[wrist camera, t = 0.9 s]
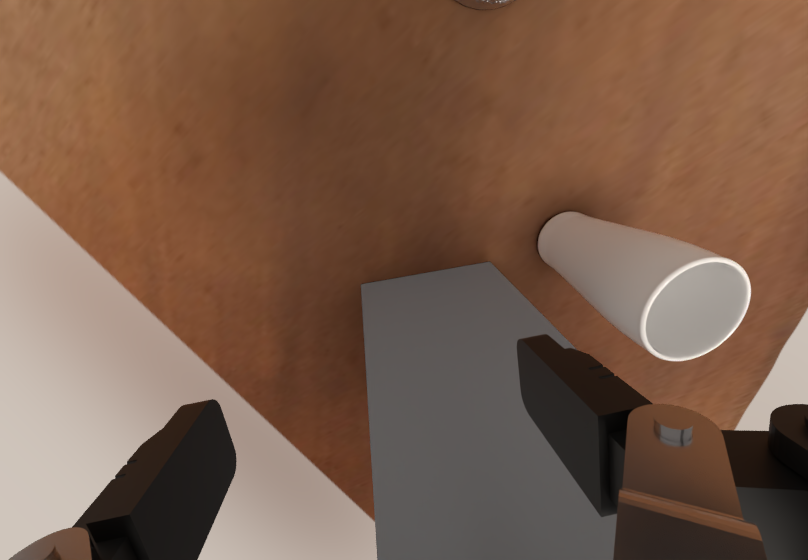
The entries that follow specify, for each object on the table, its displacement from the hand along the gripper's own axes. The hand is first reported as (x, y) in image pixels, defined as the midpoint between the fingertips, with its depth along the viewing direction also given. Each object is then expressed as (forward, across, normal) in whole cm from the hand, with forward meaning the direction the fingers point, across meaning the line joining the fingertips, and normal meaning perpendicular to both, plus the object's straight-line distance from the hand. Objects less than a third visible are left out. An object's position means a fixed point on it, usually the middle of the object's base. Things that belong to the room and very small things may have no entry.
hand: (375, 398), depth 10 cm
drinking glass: (+25, -18, +2) cm, 30 cm away
